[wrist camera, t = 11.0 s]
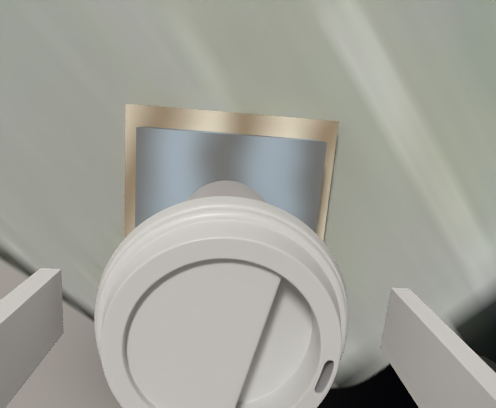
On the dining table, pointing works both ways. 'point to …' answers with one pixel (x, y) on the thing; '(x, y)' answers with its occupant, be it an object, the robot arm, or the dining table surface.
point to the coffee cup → (221, 307)
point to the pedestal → (226, 160)
